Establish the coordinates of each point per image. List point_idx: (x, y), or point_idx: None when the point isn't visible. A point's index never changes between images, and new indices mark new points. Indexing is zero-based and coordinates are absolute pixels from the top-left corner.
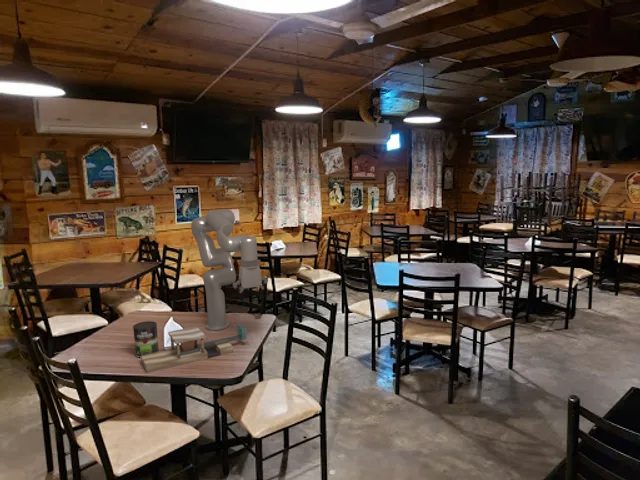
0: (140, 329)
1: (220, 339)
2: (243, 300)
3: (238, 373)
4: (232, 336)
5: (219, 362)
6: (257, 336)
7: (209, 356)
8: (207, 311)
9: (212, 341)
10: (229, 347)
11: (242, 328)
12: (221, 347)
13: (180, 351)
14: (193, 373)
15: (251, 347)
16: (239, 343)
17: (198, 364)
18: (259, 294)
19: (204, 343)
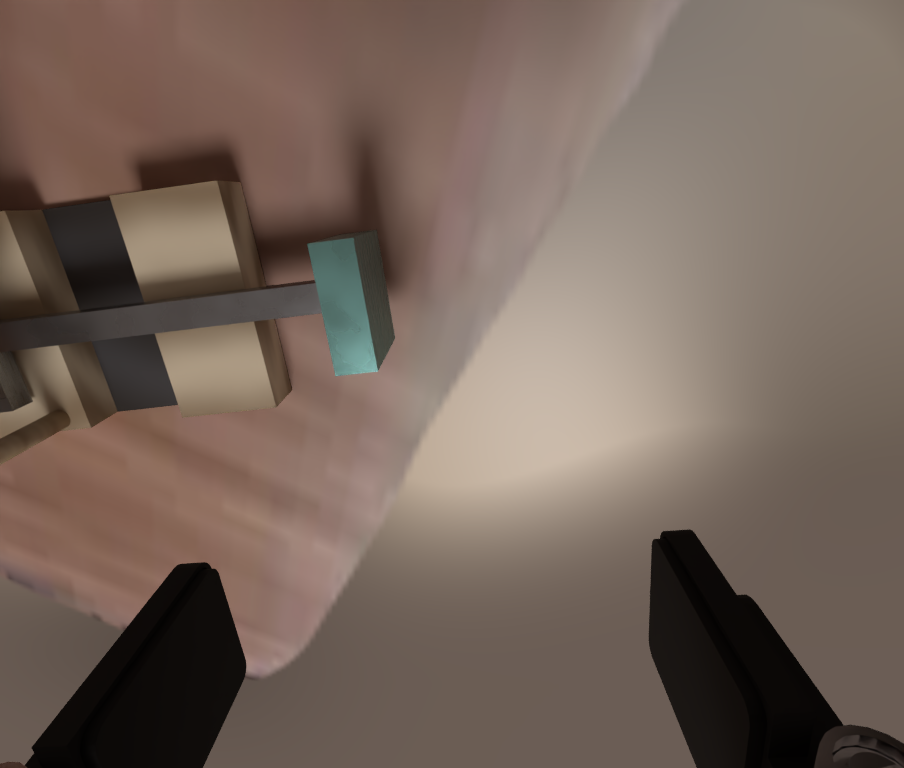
0: None
1: (170, 311)
2: (242, 676)
3: (286, 651)
4: (277, 289)
5: (195, 496)
6: (539, 154)
7: (128, 401)
8: None
9: (103, 324)
10: (252, 408)
11: (345, 373)
12: (191, 394)
13: None
14: (55, 561)
15: (428, 366)
16: None
17: (70, 468)
18: (671, 593)
19: (39, 336)
